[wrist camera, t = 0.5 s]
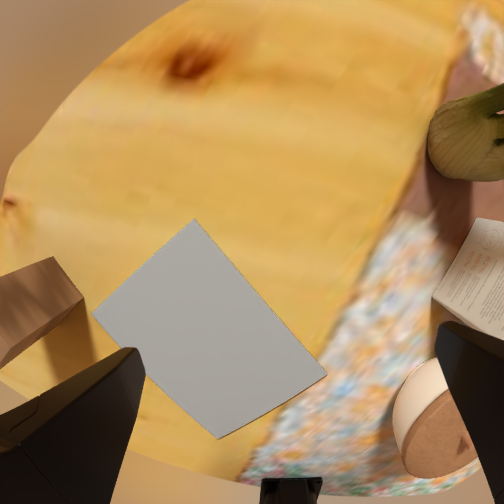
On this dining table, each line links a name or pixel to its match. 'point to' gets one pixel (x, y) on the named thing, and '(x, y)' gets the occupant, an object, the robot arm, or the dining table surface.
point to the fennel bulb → (469, 137)
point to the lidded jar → (430, 425)
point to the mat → (207, 334)
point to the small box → (477, 279)
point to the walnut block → (33, 305)
